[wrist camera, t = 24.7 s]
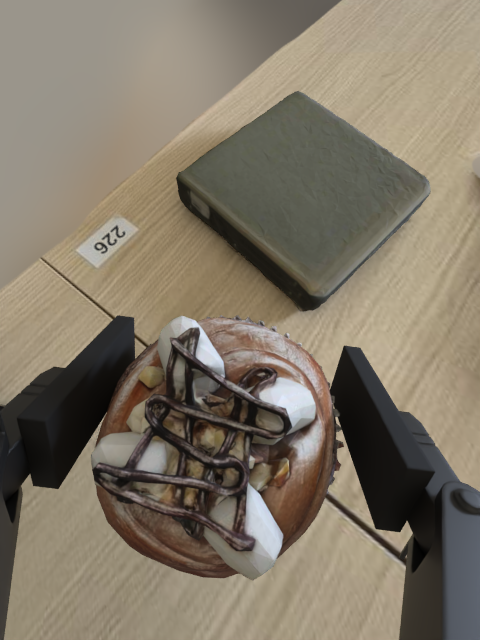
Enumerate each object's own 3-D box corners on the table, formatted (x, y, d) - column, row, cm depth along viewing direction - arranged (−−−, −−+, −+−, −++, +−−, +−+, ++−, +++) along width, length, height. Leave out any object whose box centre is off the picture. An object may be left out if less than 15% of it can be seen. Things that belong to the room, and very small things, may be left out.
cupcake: (294, 546, 15) (408, 732, 6) (111, 495, 16) (-54, 596, 6) (323, 364, 19) (427, 300, 9) (171, 325, 19) (120, 224, 10)
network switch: (276, 113, 44) (282, 75, 39) (422, 199, 40) (449, 168, 35) (165, 218, 37) (156, 186, 32) (329, 333, 33) (347, 318, 28)
